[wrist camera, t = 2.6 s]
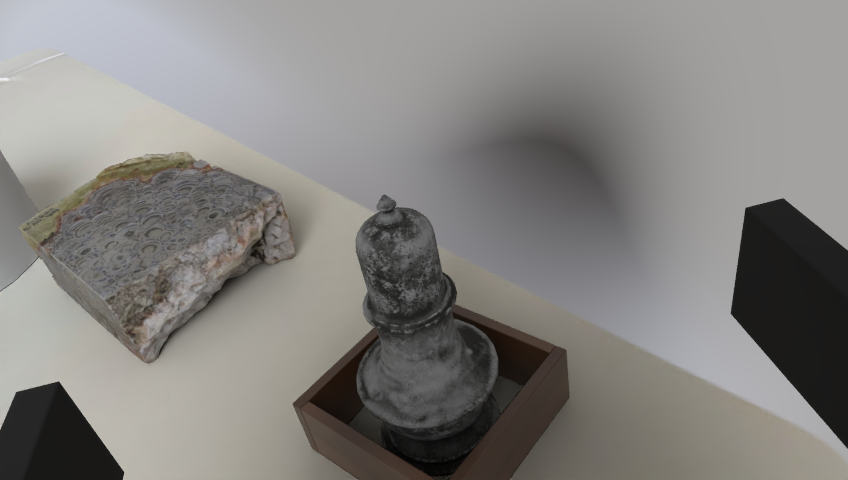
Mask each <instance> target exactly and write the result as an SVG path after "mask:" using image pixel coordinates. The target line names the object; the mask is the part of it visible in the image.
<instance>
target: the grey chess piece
mask: <svg viewBox="0 0 848 480" xmlns="http://www.w3.org/2000/svg"><path fill="white" fill-rule="evenodd" d="M395 206H396V202H395V201H394V200H392V199H391V198H390V197H387V196H386V195H383V196H382V198H381V199H380V200H379V204H378V205H377V210H379V211H381V212H378V213H377V214H375V215H373V216H372V217H370V218H369V219H368V220H366V221H365V222H364V224H363V225H362V226H361V228H360V230H359V232H358V234H357V237H356V253H357V256H358V259H359V263H360V266H361V270H362V273H363V276H364V280H365V283H366V287H367V290H368V292H367V294H366V296H365V298H364V302H363V313H364V316H365V318H366V319H367V321H368V323H370V324H371V325H372V326H373V327H374V328H376V329H377V331H378V335H379V339H378V340H377V341H376V342H375V343H374V344H373V345H372V346H371V347H370V348H369V349H368V350H367V352H366V353H365V355H364V357H363V358H362V360H361V362H360V364H359V368H358V372H357V376H356V380H357V391H358V394H359V396H360V398H361V400H362V402H363V404H364V406H365V407H366V408H367V409H368V410H369V411H370V412H371V413H372V414H373V415H374V416H375V417H377V418H379V419H380V420H381V421H382V424H381V435H382V442H383V444H384V446H385V449H387V450H388V451H390V452H391V453H393V454H395V455H396V456H398V457H400V458H401V459H403V460H404V461H406V462H408V463H409V464H411V465H412V466H414V467H416V468H417V469H419V470H421V471H422V472H424V473H425V474H427V475H446V474H450V473H454V472H455V471H456V470H457V469H458V468H459V466H460V465H461V464H462V463H463V461H464V460H465V459H466V458H467V456H468V455H469V454H470V453H471V451H472V450H473V449H474V448H475V446H476V445H477V444H478V443H479V441H480V440H481V439H482V438H483V436H484V435H485V434H486V433H487V431H488V430H489V429H490V428H491V427H492V425H493V424H494V423H495V422H496V420H497V419H498V418H499V417H500V413H499V409H498V406H497V403H496V400H495V399H494V398H493V396H492V395H491V390H492V389H493V386H494V384H495V381H496V378H497V376H498V356H497V353H496V350H495V347H494V345H493V343H492V342H491V341H490V339H489V338H488V337H487V336H486V334H485V333H483V332H482V331H480V330H479V329H477V328H476V327H475V326H473V325H471V324H468V323H465V322H463V321H460V320H457V319H454V318H453V313H452V308H453V306H454V303H455V301H456V295H457V291H456V287H455V284H454V282H453V281H452V279H451V278H450V277H449V276H448V275H446V274H445V273H443V272H442V269H441V264H440V259H439V254H438V249H437V244H436V239H435V234H434V230H433V227H432V225H431V223H430V221H429V220H428V219H427V218H426V217H425V216H424V215H423V214H421V213H420V212H418V211H416V210H413V209H410V208H399V207H398V208H395Z"/></svg>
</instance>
